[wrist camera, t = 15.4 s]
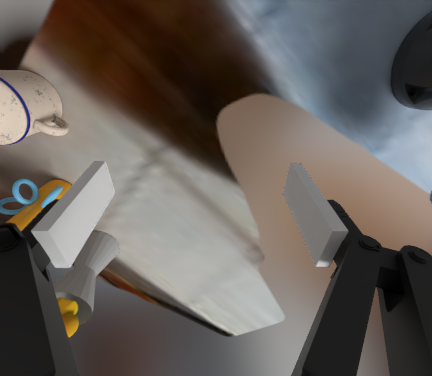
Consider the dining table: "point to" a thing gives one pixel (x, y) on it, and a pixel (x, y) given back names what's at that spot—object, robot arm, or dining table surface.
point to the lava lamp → (84, 280)
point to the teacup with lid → (28, 107)
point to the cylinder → (33, 200)
